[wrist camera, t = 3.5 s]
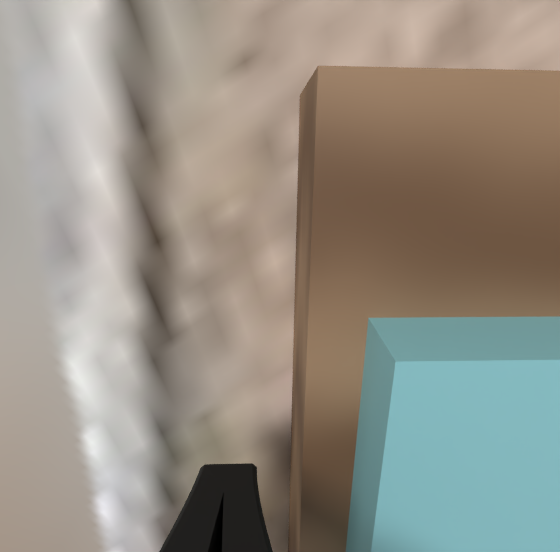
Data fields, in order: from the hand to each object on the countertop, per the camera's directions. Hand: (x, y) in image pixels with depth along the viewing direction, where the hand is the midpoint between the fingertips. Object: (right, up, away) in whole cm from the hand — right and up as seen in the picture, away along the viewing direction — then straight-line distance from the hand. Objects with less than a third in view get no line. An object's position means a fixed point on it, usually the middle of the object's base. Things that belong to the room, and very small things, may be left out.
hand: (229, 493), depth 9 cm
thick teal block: (+6, 0, +1) cm, 7 cm away
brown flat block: (+7, +2, +5) cm, 9 cm away
